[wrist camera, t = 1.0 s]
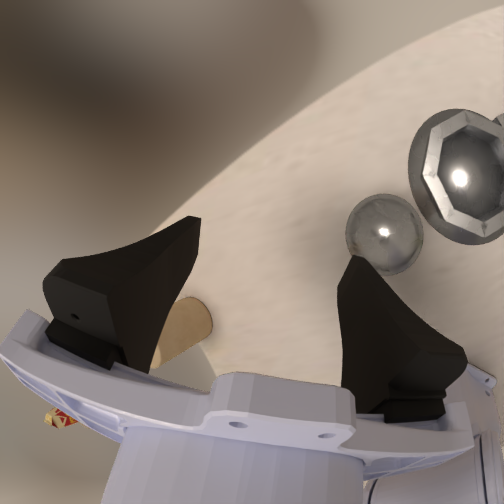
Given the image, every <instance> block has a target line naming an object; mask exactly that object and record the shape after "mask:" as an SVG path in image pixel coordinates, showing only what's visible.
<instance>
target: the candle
mask: <svg viewBox="0 0 504 504" xmlns="http://www.w3.org/2000/svg"><path fill="white" fill-rule="evenodd" d="M211 330H212V320H211V316H210V314H209V312H208V310H207V308H206V307H205V306H204V304H203V303H201V302H200V301H199V300H197V299H195V298H191V297H189V298H184V299H182V300H179V301H177V302H175V303H174V304H173V306H172V308H171V310H170V312H169V314H168V317H167V319H166V322H165V325H164V327H163V330H162V333H161V335H160V338H159V341H158V344H157V347H156V350H155V353H154V356H153V359H152V363H151V366H150V368H157V367H159V366H161V365H162V364H164V363H166V362H167V361H169V360H171V359H172V358H174V357H175V356H177V355H179V354H180V353H182V352H184V351H185V350H187V349H189V348H190V347H192V346H193V345H195V344H196V343H198V342H200V341H201V340H203V339H204V338H206V337H207V336H208V335H209V334H210V332H211Z"/></svg>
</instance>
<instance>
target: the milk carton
mask: <svg viewBox="0 0 504 504" xmlns="http://www.w3.org/2000/svg"><path fill="white" fill-rule="evenodd" d="M43 422H46V423H48V424H49V425H50V426H55V427H57V428H62V427H66V426H69V425H72V424H75V423H77V422H79V421H77V420H75V419H74V418H72V417H71V416H69V415H67V414H66V413H64V412H63V411H61V410H59V409H58V408H56V407H54V408H53V409H52V410H51V411H50V412H48V413H47V414H46V418H45V420H43Z"/></svg>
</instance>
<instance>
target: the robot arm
mask: <svg viewBox="0 0 504 504" xmlns="http://www.w3.org/2000/svg"><path fill="white" fill-rule="evenodd" d="M200 227H201V218H198V217H193V216H187V217H185V218H183V219H181V220H179V221H178V222H176V223H174V224H172V225H170V226H169V227H167V228H165V229H163V230H161V231H159V232H157V233H155V234H153V235H151V236H149V237H147V238H145V239H143V240H140V241H138V242H136V243H133V244H131V245H128V246H125V247H122V248H118V249H115V250H112V251H108V252H104V253H100V254H95V255H90V256H84V257H77V258H68V259H62V260H61V261H60V262H59V263H58V264H57V265H56V266H55V267H54V268H53V270H52V271H51V272H50V273H49V274H48V275H47V276H46V277H45V278H44V280H43V292H44V295H45V298H46V301H47V303H48V305H49V307H50V310H51V312H52V314H53V316H54V319H53V320H52V322H51V323H49V322H48V321H47V320H46V319H45V318H43V317H42V316H40V315H38V314H36V313H34V312H33V311H31V310H29V309H27V310H26V311H25V312H24V313H23V315H22V316H21V317H20V318H19V320H18V321H17V322H16V324H15V325H14V327H13V328H12V329H11V331H10V332H9V333H8V335H7V336H6V338H5V339H4V340H3V342H2V343H1V345H0V358H1V359H2V360H3V361H4V363H5V364H6V365H7V366H8V368H9V369H10V370H11V371H12V372H13V374H14V375H15V376H16V377H17V378H18V379H19V380H20V382H21V383H22V384H23V385H25V386H26V387H27V388H29V389H30V390H32V391H33V392H34V393H36V394H37V395H39V396H40V397H42V398H43V399H44V400H46V401H47V402H49V403H50V404H52V405H53V406H55V407H56V408H58V409H59V410H61V411H63V412H64V413H66V414H67V415H69V416H71V417H72V418H74V419H75V420H77V421H79V422H80V423H82V424H84V425H86V426H87V427H89V428H91V429H93V430H95V431H97V432H98V433H100V434H102V435H104V436H106V437H108V438H110V439H112V440H114V441H116V442H118V443H120V444H121V445H120V448H119V451H118V454H117V456H116V459H115V462H114V465H113V468H112V470H111V473H110V476H109V479H108V482H107V485H106V488H105V491H104V494H103V497H102V500H101V504H504V461H503V455H502V449H501V444H500V440H499V438H500V434H501V423H500V418H499V414H498V410H497V406H496V402H495V399H494V395H493V392H492V389H493V387H494V386H495V385H496V383H497V380H496V378H495V377H493V376H491V375H489V374H488V373H486V372H484V371H482V370H480V369H478V368H477V367H475V366H473V365H471V364H469V363H468V361H467V357H466V355H465V352H464V350H463V348H462V347H461V346H459V345H458V344H456V343H454V342H453V341H451V340H449V339H448V338H446V337H444V336H443V335H442V334H440V333H439V332H437V331H436V330H435V329H433V328H432V327H431V326H429V325H428V324H427V323H426V322H424V321H423V320H422V319H421V318H420V317H419V316H417V315H416V314H415V313H414V312H413V311H412V310H411V309H410V308H409V307H408V306H407V305H406V304H405V303H404V302H403V301H402V300H401V299H400V298H399V297H398V296H397V294H396V293H395V292H394V291H393V290H392V289H391V288H390V286H389V285H388V284H387V283H386V282H385V281H384V279H383V278H382V277H381V276H380V274H379V273H378V272H377V271H376V270H375V268H374V267H373V266H372V265H371V264H370V263H369V262H368V261H367V260H366V259H365V258H364V257H360V256H357V255H352V258H351V260H350V262H349V264H348V266H347V268H346V270H345V272H344V275H343V277H342V279H341V281H340V283H339V285H338V287H337V306H338V314H339V322H340V329H341V337H342V348H343V360H342V380H341V387H338V386H335V385H327V384H319V383H311V382H304V381H297V380H291V379H284V378H279V377H273V376H268V375H262V374H257V373H248V372H232V373H227V374H223V375H220V376H219V377H218V378H217V379H216V380H215V381H214V382H213V384H212V388H211V392H208V391H202V390H198V389H194V388H190V387H187V386H183V385H180V384H177V383H173V382H170V381H167V380H164V379H161V378H158V377H155V376H152V375H149V374H148V373H149V370H150V366H151V363H152V359H153V356H154V353H155V350H156V347H157V344H158V341H159V338H160V335H161V333H162V330H163V327H164V325H165V322H166V319H167V317H168V314H169V312H170V310H171V308H172V306H173V304H174V302H175V300H176V298H177V296H178V295H179V293H180V291H181V289H182V287H183V286H184V284H185V282H186V280H187V278H188V276H189V275H190V273H191V271H192V268H193V266H194V263H195V261H196V258H197V255H198V248H199V237H200ZM487 378H488V380H486V379H487ZM366 480H369V481H368V482H367V484H366V486H365V488H364V489H363V481H366Z"/></svg>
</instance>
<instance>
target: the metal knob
mask: <svg viewBox="0 0 504 504" xmlns="http://www.w3.org/2000/svg"><path fill="white" fill-rule="evenodd" d="M346 242H347V246H348V249H349V251H350V254H351V255H357V256H360V257H364V258H365V259H366V260H367V261H368V262H369V263H370V264H371V265H372V266H373V267H374V268H375V270H376V271H377V272H378V273H379V274H380V275H382V276H388V275H394V274H398V273H400V272H402V271H404V270H406V269H407V268H408V267H410V266H411V265H412V264H413V263H414V261H415V260H416V259H417V257H418V255H419V253H420V251H421V248H422V244H423V227H422V223H421V220H420V218H419V216H418V214H417V212H416V211H415V209H414V208H413V207H412V206H411V205H410V204H409V203H408V202H407V201H405V200H404V199H402V198H400V197H398V196H395V195H391V194H377V195H373V196H370V197H368V198H366V199H364V200H363V201H361V202H360V203H359V204H358V205H357V206H356V207H355V208H354V209H353V211H352V212H351V214H350V216H349V219H348V222H347V226H346Z"/></svg>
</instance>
